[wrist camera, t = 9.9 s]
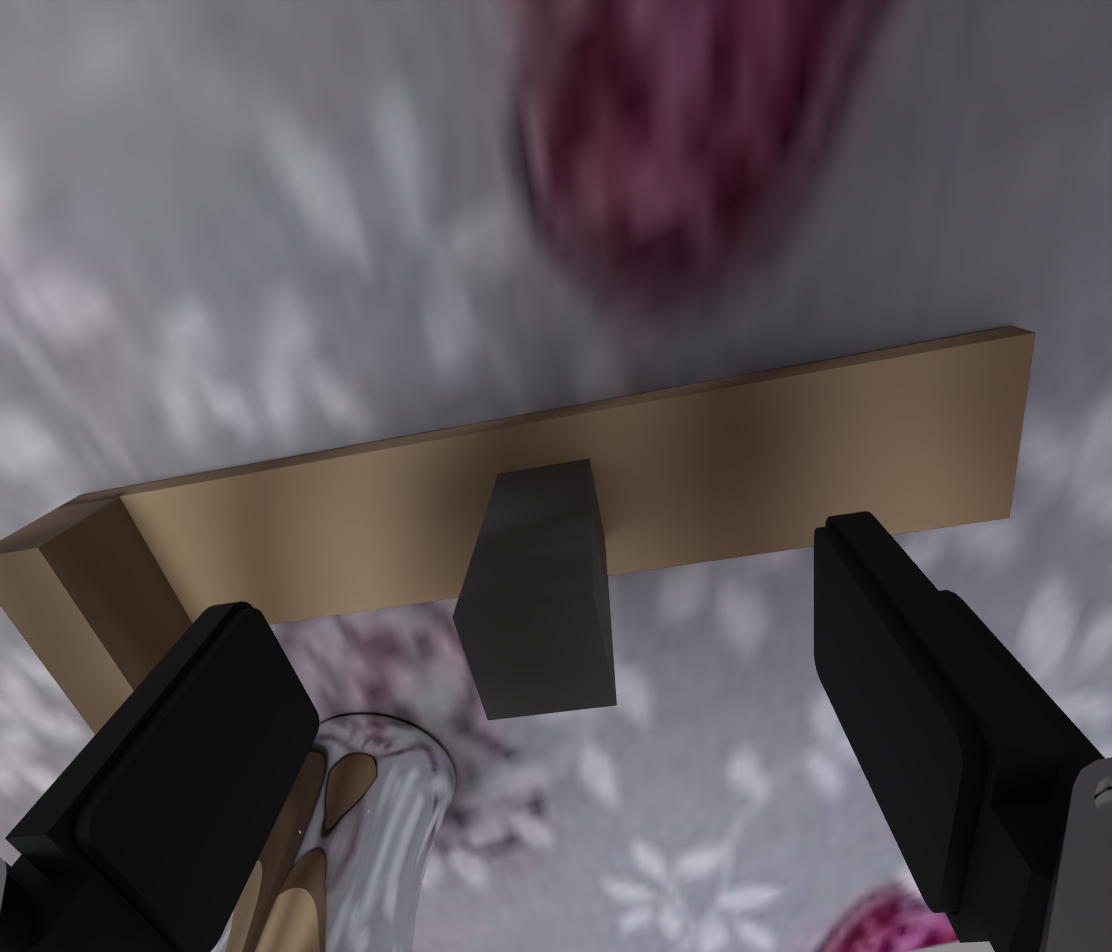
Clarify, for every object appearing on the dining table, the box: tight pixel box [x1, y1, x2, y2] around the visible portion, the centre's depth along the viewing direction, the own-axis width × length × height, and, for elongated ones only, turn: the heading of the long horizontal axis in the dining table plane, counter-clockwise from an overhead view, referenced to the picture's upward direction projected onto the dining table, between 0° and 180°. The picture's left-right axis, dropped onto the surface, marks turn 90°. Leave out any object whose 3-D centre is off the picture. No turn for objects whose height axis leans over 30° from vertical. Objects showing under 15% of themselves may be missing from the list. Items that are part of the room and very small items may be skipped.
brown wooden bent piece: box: [0, 326, 1035, 735], centre depth 16 cm, size 26×18×7 cm
